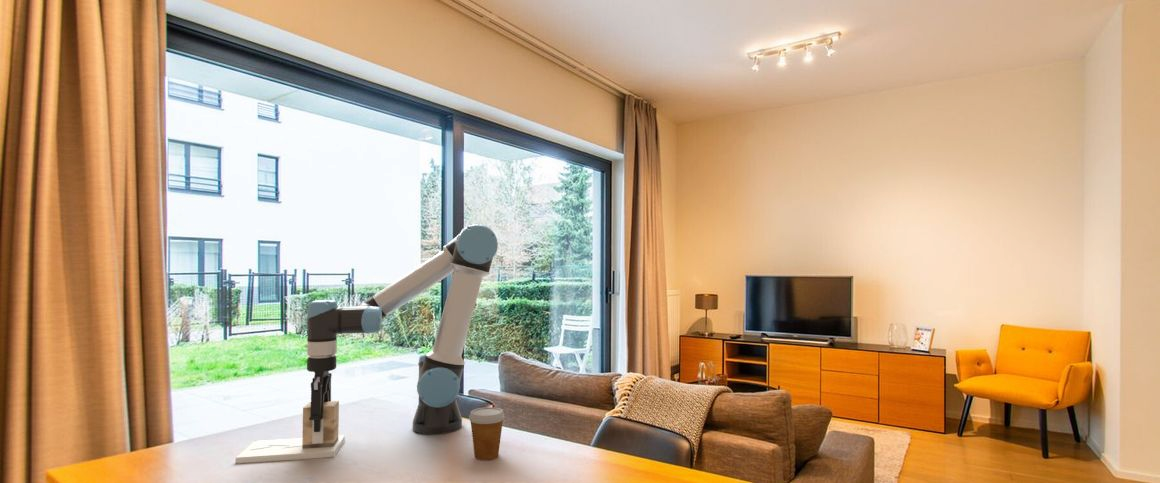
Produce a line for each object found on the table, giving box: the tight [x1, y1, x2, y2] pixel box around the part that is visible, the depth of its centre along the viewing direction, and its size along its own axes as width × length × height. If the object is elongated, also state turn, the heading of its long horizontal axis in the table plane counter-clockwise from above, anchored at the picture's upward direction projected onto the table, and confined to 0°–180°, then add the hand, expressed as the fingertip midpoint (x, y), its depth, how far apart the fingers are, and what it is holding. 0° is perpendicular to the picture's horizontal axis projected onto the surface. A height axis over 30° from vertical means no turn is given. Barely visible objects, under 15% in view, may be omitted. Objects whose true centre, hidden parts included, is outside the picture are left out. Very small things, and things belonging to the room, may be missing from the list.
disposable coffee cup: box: [468, 406, 505, 461], centre depth 153 cm, size 10×10×12 cm
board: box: [235, 435, 346, 464], centre depth 157 cm, size 24×14×2 cm, turn 102°
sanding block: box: [302, 400, 340, 449], centre depth 159 cm, size 8×6×11 cm
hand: (320, 439), depth 159 cm, fingers closed on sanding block, 6 cm apart
